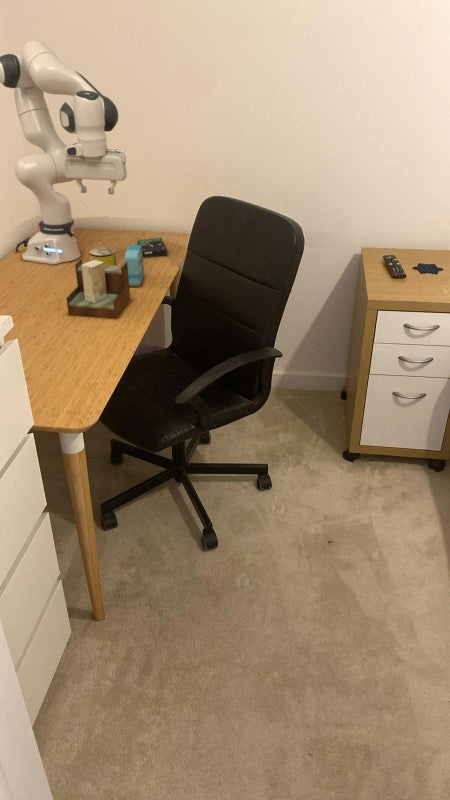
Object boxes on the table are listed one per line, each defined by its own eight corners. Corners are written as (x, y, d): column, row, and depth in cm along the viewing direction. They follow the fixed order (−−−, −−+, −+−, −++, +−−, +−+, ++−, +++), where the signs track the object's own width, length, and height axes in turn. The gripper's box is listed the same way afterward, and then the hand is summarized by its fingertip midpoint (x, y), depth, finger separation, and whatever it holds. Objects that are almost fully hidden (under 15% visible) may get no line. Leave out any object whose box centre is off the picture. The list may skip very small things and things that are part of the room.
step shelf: (68, 315, 210) (63, 275, 203) (84, 296, 222) (80, 259, 215) (116, 318, 207) (112, 279, 200) (130, 300, 220) (127, 262, 213)
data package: (139, 288, 229) (137, 255, 223) (126, 287, 229) (124, 255, 223) (144, 275, 239) (141, 243, 233) (131, 275, 239) (129, 243, 233)
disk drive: (167, 256, 257) (161, 243, 269) (167, 249, 256) (161, 237, 268) (141, 258, 255) (136, 245, 267) (141, 251, 253) (136, 238, 266)
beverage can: (108, 277, 238) (105, 245, 231) (123, 283, 232) (120, 251, 226) (87, 283, 232) (84, 251, 226) (102, 290, 227) (99, 257, 220)
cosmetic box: (94, 304, 207) (90, 267, 201) (84, 301, 209) (80, 265, 203) (108, 297, 212) (104, 261, 205) (97, 294, 214) (94, 258, 207)
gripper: (127, 147, 205) (131, 192, 212) (66, 145, 208) (71, 189, 215) (121, 151, 199) (125, 197, 207) (58, 149, 202) (64, 194, 210)
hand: (97, 193), depth 211 cm, fingers open, 8 cm apart
